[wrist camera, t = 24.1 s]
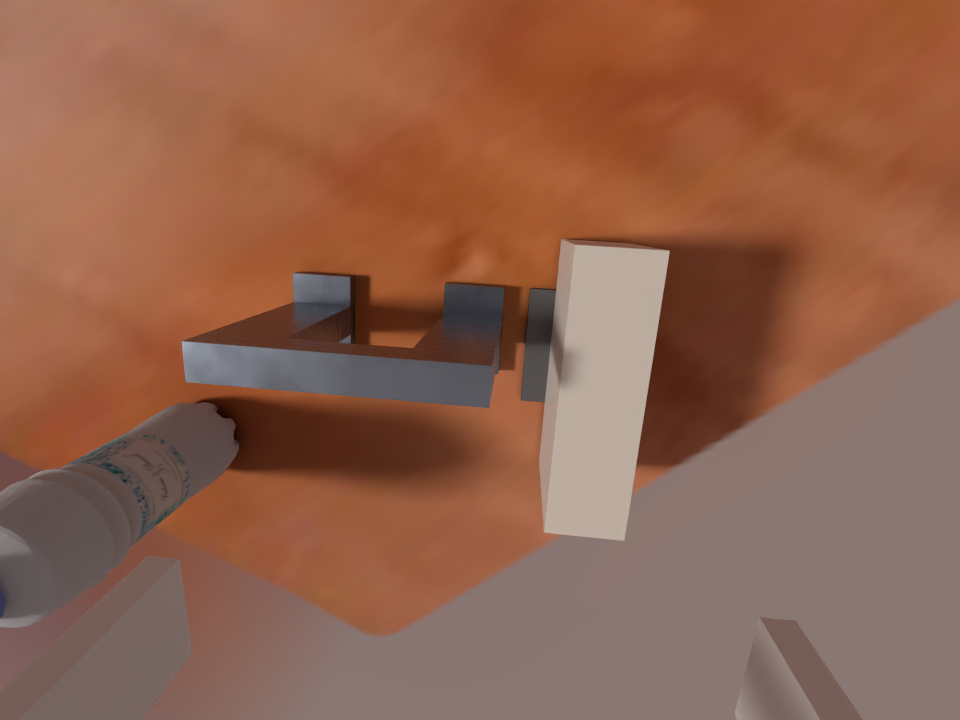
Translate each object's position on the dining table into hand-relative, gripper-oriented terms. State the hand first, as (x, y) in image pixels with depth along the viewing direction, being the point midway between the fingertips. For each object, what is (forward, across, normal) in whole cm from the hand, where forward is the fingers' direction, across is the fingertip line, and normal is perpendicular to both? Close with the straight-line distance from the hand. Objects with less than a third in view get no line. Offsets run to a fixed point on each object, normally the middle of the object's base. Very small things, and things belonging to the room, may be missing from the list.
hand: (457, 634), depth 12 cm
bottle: (+26, -22, -8) cm, 35 cm away
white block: (+25, +6, -2) cm, 26 cm away
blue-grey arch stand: (+25, -7, +2) cm, 26 cm away
